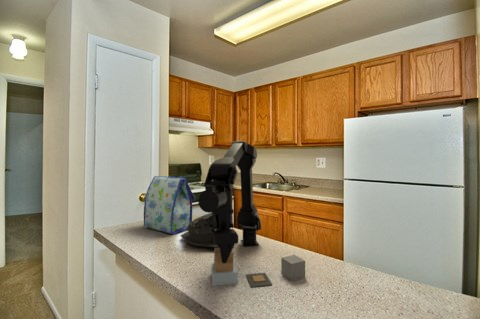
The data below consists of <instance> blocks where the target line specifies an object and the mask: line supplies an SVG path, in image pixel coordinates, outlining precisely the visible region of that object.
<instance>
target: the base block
mask: <svg viewBox="0 0 480 319" xmlns="http://www.w3.org/2000/svg"><path fill="white" fill-rule="evenodd" d="M210 269H211V281H212V286H221V285H222V286H224V285H231V284H233V285H234V284H239V272H238V268H237V266H236V263H235V262H234V261H233V271H226V272H216V271H215V266H214V262H213V263H211V268H210Z"/></svg>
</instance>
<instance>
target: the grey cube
mask: <svg viewBox="0 0 480 319" xmlns="http://www.w3.org/2000/svg"><path fill="white" fill-rule="evenodd" d="M280 259H281V260H280V262H281V266H280V267H281V268H280V269H281V271H280V272H281V275H283V276H284V277H285V278H287V279H288V280H290V282H293V281H297V280H301V279H304V278H306V260H305V259H303V258H301V257H299V256H298V255H296V254H292V255H291V254H290V255H288V256H282V257H281V258H280Z"/></svg>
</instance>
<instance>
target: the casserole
mask: <svg viewBox="0 0 480 319" xmlns="http://www.w3.org/2000/svg"><path fill="white" fill-rule="evenodd" d="M211 229H213V228H209V229H206V230H204V231H202V232H201V233H197V232H196V229H195V226H194V224H193V220H192V221H191V222H190V223H189V226H188V227H187V230H186V232H184V233H182V234H181V235H180V237H181V238H182V239H184V241H185V242H186V243H187V244H189V245H193V246H197V247H203V248H204V247H205V248H207V247H210V248H219V246H218V245H215V244H214V233H213V232H212V230H211Z"/></svg>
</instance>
